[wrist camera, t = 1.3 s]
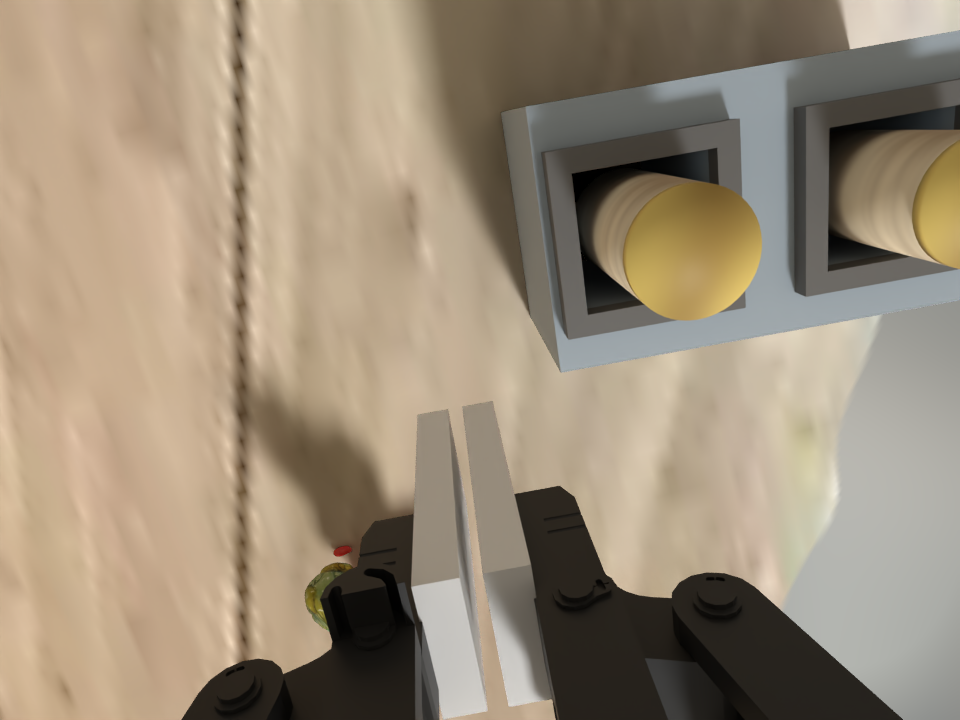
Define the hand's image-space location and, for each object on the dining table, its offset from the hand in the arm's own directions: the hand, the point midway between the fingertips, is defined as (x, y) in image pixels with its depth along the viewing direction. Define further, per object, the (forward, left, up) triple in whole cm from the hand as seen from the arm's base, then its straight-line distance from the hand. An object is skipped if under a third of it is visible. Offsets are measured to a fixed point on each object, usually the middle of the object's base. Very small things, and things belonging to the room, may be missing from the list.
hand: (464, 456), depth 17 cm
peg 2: (+14, +15, -18) cm, 27 cm away
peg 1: (+6, +8, -18) cm, 20 cm away
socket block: (+10, +11, -24) cm, 29 cm away
